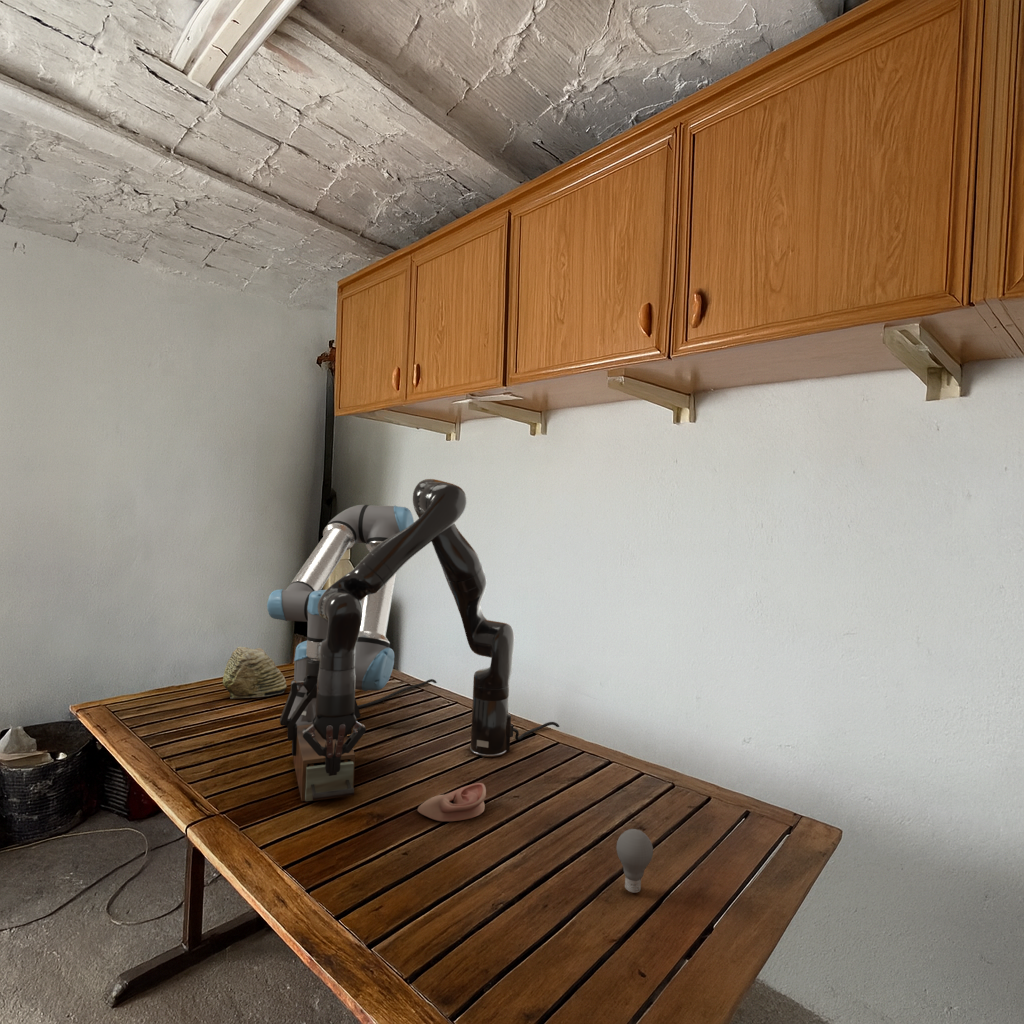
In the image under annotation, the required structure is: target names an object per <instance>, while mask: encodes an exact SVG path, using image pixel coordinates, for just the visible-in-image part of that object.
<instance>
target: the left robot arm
mask: <svg viewBox="0 0 1024 1024" xmlns="http://www.w3.org/2000/svg"><path fill="white" fill-rule="evenodd" d="M414 522H415V520H414V516H413V514H412V512H411V510H410V508H408V507H406V506H397V505H378V504H377V505H376V504H375V505H374V504H357V505H353V506H350V507H348V508H346V509H344V510H342V511H341V512H339V513H338V514H336V515H335V516H334V517H333V518H332V519H330V520H329V521H328V523H327V525H326V526H325V527H324V529H323V530H322V536H323V537H322V538H321V539H320V541H319V542H318V544H317V545H316V546H315V548H314V549H313V551H312V552H311V553H310V555H309V557H308V558H307V559H306V561H305V562H304V563H303V565H302V567H300V569H299V571H298V572H297V573H296V575H295V576H294V578H293V579H292V580H291V582H290V583H289V585H288V586H287V588H286V589H284V588H281V589H275V590H273V591H272V592H271V593H270V594H269V596H268V599H267V603H266V604H267V605H266V608H267V613H268V615H269V617H270V618H272V619H273V620H279V621H285V622H287V621H288V622H291V621H292V622H304V623H305V622H306V623H307V633H306V634H307V635H306V640H304V641H302V642H299V643H298V644H297V645H296V647H295V652H294V653H295V654H294V659H293V661H294V672H293V680H291V681H290V691H289V694H288V696H287V699H286V701H285V704H284V707H283V709H282V712H281V714H280V717H279V723H280V725H281V726H286V728H287V735H286V738H287V741H288V742H291V754H292V757H294V756H296V746H297V726H301V725H312V724H313V720H314V718H315V716H316V699H317V687H316V686H317V678H318V673H319V663H320V647H321V643H322V641H323V640H324V639H325V638H327V632H328V622H327V621H325V620H324V619H322V618H321V616H320V615H319V613H318V602H319V600H320V598H321V596H322V595H323V593H324V592H325V591H326V590H327V589H323V587H324V586H325V585H326V583H327V582H328V580H329V578H330V577H331V575H332V573H333V572H334V570H335V569H336V567H337V566H338V564H339V563H340V561H341V559H342V558H343V556H344V555H345V553H346V551H348V550H350V549H352V548H353V546H354V545H355V544H365V548H366V549H367V550H368V551H369V552H370V551H371V550H372V549H374V548H375V547H376V546H377V545H378V544H380V543H381V542H383V541H384V540H386V539H388V538H390V537H391V536H393V535H395V534H397V533H399V532H401V531H402V530H404V529H406V528H407V527H409V526H410V525H411V524H413V523H414ZM369 552H368V553H369ZM396 577H397V573H396V574H395V575H394V576H393V577H392V578H391V579H390V580H389V581H388V582H387V583H386V584H385V585H384V586H383V588H382V589H381V590H379V591H378V592H377V593H375V594H370V595H367V596H366V597H364V598H363V599H362V600H361V604H362V609H363V618H362V624H361V628H360V632H359V637H358V640H357V643H356V657H355V674H356V685H355V690H359V691H364V692H368V691H375V692H377V691H381V690H382V689H384V688H385V686H386V685H387V684H388V683H389V681H390V678H391V677H392V676H391V675H392V673H393V671H394V666H395V652H394V650H393V649H392V648H391V647H390V645H391V642H390V641H389V639H388V638H387V630H388V625H389V619H390V613H391V608H392V607H391V606H392V603H393V602H392V601H393V595H394V590H395V584H396ZM430 683H433V684H437V683H438V681H436V679H433V678H430V679H428V680H425V681H423V682H420V683H416V684H413V685H409V686H406V687H404V688H400V689H399V690H396V691H394V692H392V693H390V694H387V695H385V696H383V697H381V698H379V699H375V700H372V701H369V702H366V703H362V704H359V705H358V703H357V699H356V698H355V707H354V714H355V717H356V719H360V718H361V712H360V709H362V708H366V707H369V706H372V705H375V704H378V703H381V702H383V701H386V700H388V699H390V698H392V697H395V696H396V695H399V694H401V693H403V692H405V691H409V690H411V689H415V688H418V687H423V686H425V685H428V684H430ZM352 733H353V728H352V729H351V730H350V732H349V733H348V734H347V736H348V735H349V736H350V735H351V734H352Z"/></svg>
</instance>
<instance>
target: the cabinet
mask: <svg viewBox="0 0 1024 1024" xmlns="http://www.w3.org/2000/svg"><path fill="white" fill-rule="evenodd" d="M310 726H311V725H301V726H297V746H296V756H293V766H294V771H295V776H296V781H297V786H298V792H299V797H300V800H301V801H300V802H307V801H306V800H305V791H306V767H307V764H312V763H321V762H325V756H319V755H318V754H317V753H316V752H315V751H314V749H313V748H312V747H311V746H310V745H309V744H308V742H307V741H306V740H305V739H304V738H303V734H302V730H303V729H307V728H309V727H310ZM314 738H315V739H316V740H317V741H318V742H319V744H320V745H321V746H322V747H325V740H324V739H323V738H322V737H321V736H320V734H319V733H318V732H317V730H316V729H315V737H314ZM348 738H349V736H348V735H347V736H346V737H345V738H344V742H343V744H344V743H345V742H346V740H347V739H348ZM334 744H335V739H334V740H333V754H334ZM346 759H347V760H348V762H351V761H353V763H354V767H356V766H355V765H356V763H355V762H356V753H355V751H354V748H352V750H351V751H350V752H349V753H344V754H342V755H341V760H346ZM354 787H355V769H354V770H353V788H354ZM354 789H355V788H354Z"/></svg>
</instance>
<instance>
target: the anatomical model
mask: <svg viewBox="0 0 1024 1024" xmlns="http://www.w3.org/2000/svg"><path fill="white" fill-rule="evenodd" d="M486 797H487V788H486V785H485V784H484V783H483V782H476V783H472V784H469V785H465V786H462V787H460V788H458V789H455V790H453V791H450V792H447V793H445V794H438V795H435V796H432V797H430V798H429V799H427V800H425V801H424V802H422V803H421V804H420V805H419V806H418V807H417V812H418V813H419V814H420V815H422V816H424V817H426V818H428V819H431V820H434V821H437V822H457V821H464V820H469V819H473V818H476V817H478V816H480V815H482V814H483V813H484V811H485V809H486V806H485V805H486V804H485V799H486Z"/></svg>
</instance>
